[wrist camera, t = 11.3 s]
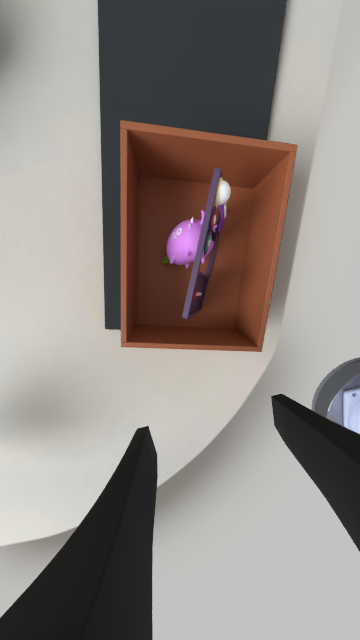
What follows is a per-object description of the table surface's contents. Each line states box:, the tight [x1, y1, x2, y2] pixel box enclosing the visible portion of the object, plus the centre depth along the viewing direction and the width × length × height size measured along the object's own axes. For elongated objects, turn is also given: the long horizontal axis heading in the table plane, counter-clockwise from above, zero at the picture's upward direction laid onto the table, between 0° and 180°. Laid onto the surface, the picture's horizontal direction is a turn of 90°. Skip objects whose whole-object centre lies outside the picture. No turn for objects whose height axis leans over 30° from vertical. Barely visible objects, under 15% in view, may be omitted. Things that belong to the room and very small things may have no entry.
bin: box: [120, 120, 297, 352], centre depth 16 cm, size 14×11×6 cm
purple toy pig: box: [162, 168, 231, 319], centre depth 15 cm, size 7×5×9 cm
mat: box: [98, 0, 286, 330], centre depth 14 cm, size 48×14×1 cm, turn 176°
